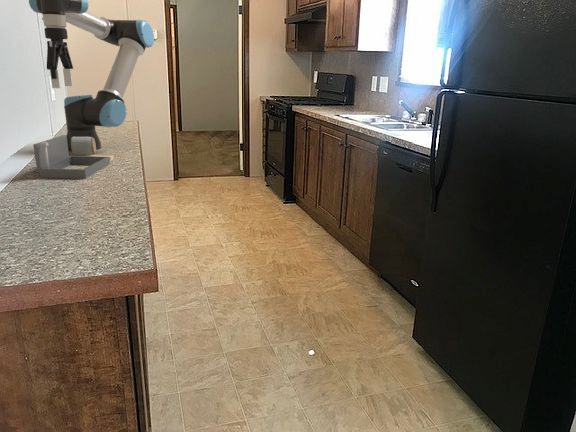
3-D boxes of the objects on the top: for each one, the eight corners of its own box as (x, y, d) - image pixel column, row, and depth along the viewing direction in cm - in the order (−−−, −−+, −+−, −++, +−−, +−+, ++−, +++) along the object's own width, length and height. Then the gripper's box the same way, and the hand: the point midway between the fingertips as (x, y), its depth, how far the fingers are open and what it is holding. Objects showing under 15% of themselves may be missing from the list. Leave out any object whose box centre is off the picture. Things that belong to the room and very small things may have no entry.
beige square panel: (81, 156, 193) (81, 153, 193) (116, 157, 194) (115, 154, 194) (67, 163, 180) (67, 160, 180) (104, 163, 181) (104, 160, 180)
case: (67, 163, 179) (64, 133, 176) (110, 164, 180) (107, 134, 176) (37, 177, 156) (32, 143, 153) (85, 178, 157) (82, 144, 153)
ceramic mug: (95, 155, 184) (91, 136, 182) (72, 157, 182) (69, 137, 180) (98, 152, 194) (95, 133, 192) (77, 154, 192) (74, 135, 190)
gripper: (57, 29, 185) (64, 85, 191) (30, 25, 161) (39, 89, 168) (76, 29, 185) (83, 85, 192) (53, 25, 162) (61, 89, 169)
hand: (62, 87), depth 180 cm, fingers open, 13 cm apart
